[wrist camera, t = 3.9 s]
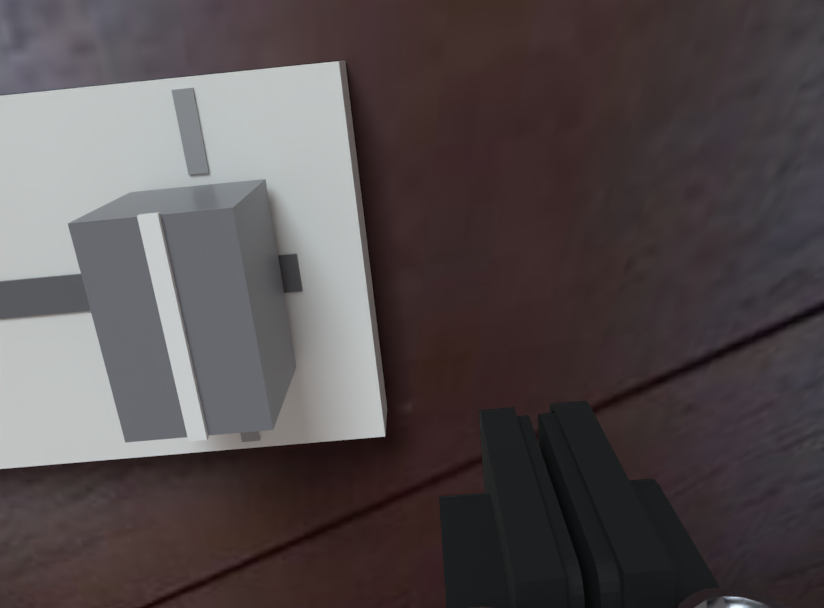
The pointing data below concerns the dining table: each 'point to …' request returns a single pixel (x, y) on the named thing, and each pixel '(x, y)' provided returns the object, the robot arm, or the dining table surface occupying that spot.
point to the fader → (188, 309)
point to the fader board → (172, 168)
